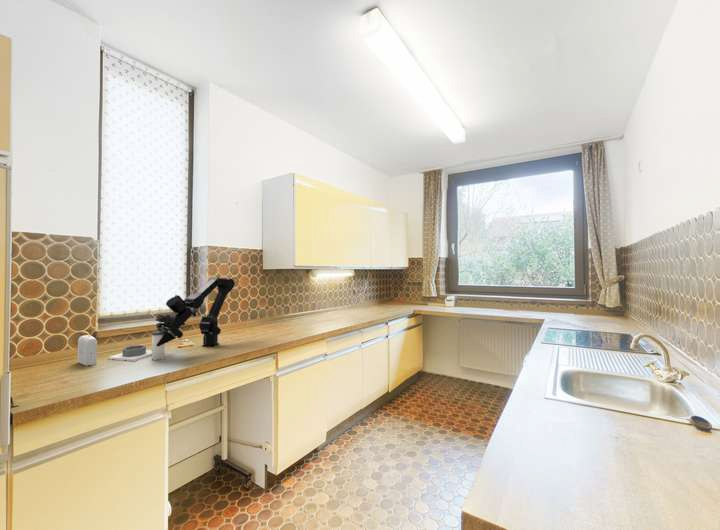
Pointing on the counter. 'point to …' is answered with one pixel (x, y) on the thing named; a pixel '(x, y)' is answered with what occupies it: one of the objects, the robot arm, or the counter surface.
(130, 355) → the collar
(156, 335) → the canister
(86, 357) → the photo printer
